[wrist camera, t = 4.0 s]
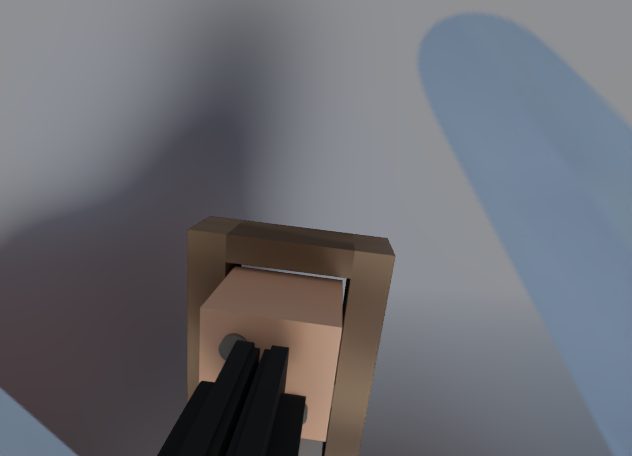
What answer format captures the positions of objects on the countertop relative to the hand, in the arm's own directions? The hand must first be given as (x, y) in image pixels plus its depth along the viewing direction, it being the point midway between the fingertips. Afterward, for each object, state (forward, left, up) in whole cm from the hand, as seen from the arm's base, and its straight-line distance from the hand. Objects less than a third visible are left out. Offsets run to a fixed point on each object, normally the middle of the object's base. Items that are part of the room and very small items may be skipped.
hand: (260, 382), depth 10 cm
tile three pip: (0, 0, -4) cm, 4 cm away
